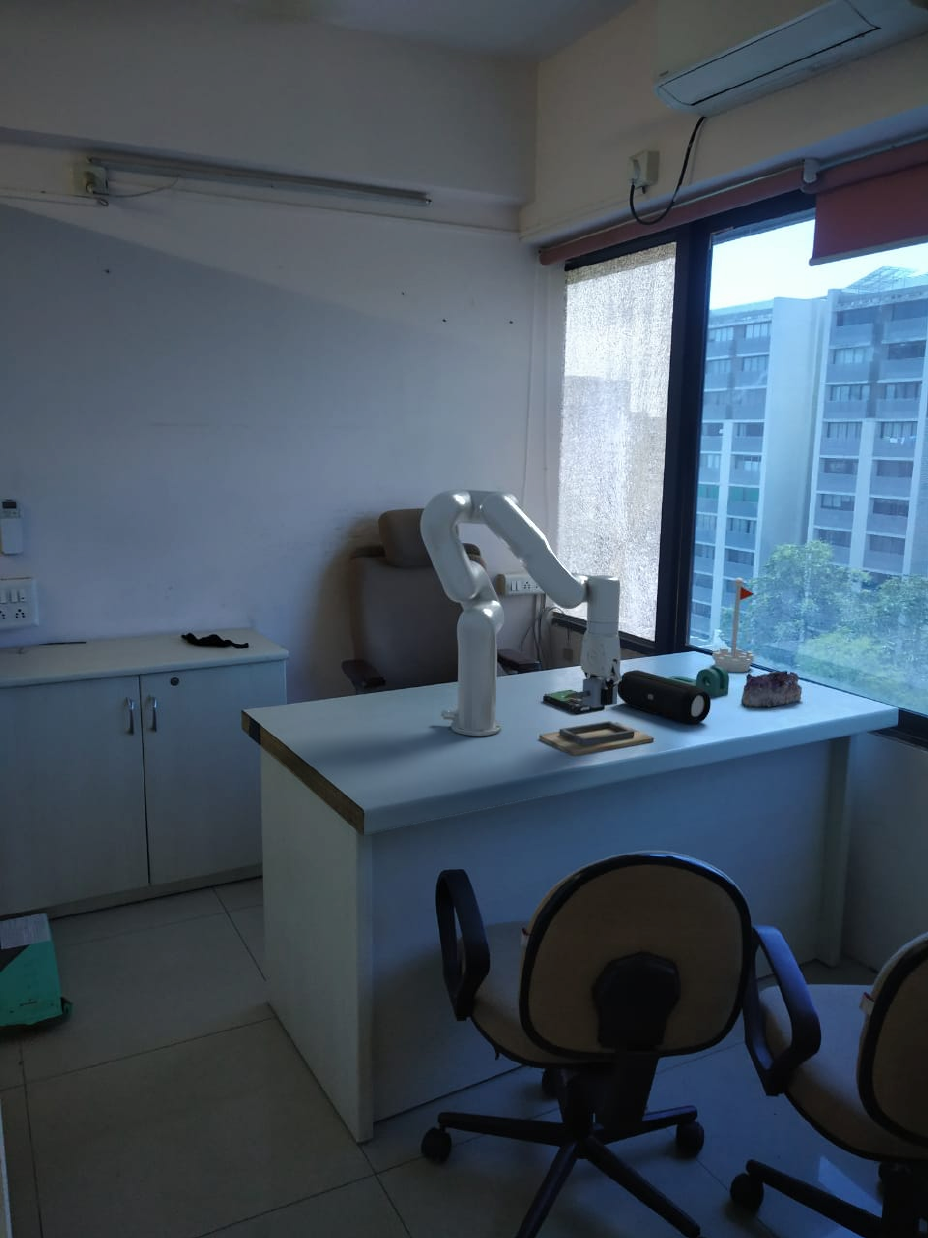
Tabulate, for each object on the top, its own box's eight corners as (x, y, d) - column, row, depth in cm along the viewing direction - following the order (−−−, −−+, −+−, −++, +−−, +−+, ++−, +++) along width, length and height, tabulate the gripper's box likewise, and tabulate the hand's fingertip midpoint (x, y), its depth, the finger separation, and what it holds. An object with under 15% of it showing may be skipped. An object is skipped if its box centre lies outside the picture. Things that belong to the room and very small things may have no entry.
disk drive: (605, 711, 250) (570, 698, 262) (606, 701, 250) (570, 688, 262) (576, 717, 244) (541, 703, 256) (577, 706, 244) (542, 693, 256)
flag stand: (713, 671, 296) (720, 579, 290) (709, 662, 308) (716, 574, 303) (755, 674, 294) (763, 581, 288) (749, 664, 306) (757, 575, 301)
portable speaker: (613, 705, 254) (615, 670, 252) (638, 700, 260) (640, 666, 258) (687, 729, 234) (689, 691, 232) (711, 722, 240) (714, 685, 238)
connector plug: (574, 704, 220) (574, 680, 219) (608, 698, 225) (609, 675, 224) (585, 709, 216) (586, 684, 215) (620, 703, 222) (621, 679, 221)
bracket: (727, 694, 269) (729, 668, 267) (714, 698, 264) (716, 671, 263) (676, 682, 282) (678, 657, 280) (663, 685, 277) (664, 660, 276)
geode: (767, 713, 250) (765, 677, 249) (732, 709, 259) (730, 674, 258) (810, 699, 262) (808, 665, 261) (774, 696, 271) (773, 662, 270)
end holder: (539, 738, 223) (539, 729, 223) (616, 726, 235) (617, 716, 234) (573, 756, 211) (574, 745, 211) (653, 741, 223) (654, 731, 223)
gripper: (568, 623, 223) (566, 695, 227) (612, 635, 209) (609, 712, 212) (593, 620, 227) (590, 692, 230) (638, 632, 213) (634, 708, 216)
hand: (599, 701), depth 221 cm, fingers closed on connector plug, 4 cm apart
